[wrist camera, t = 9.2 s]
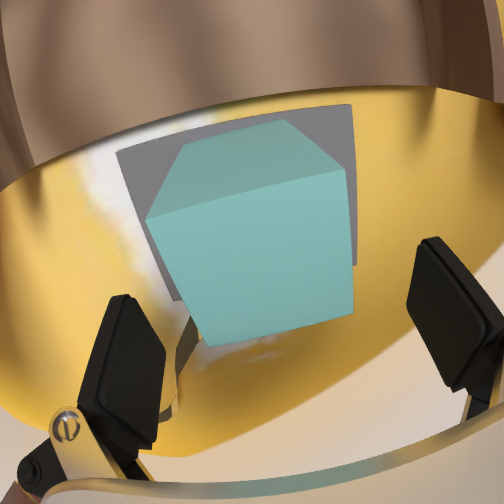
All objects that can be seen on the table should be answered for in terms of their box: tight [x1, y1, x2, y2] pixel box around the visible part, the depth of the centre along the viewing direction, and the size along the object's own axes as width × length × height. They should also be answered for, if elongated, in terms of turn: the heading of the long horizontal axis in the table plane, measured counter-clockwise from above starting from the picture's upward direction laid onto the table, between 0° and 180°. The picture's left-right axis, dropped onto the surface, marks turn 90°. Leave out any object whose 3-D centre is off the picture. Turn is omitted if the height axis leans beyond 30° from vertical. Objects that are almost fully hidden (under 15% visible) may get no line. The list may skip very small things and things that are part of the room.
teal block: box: [145, 119, 353, 348], centre depth 12 cm, size 5×5×8 cm
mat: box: [116, 104, 357, 301], centre depth 16 cm, size 12×10×1 cm
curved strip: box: [158, 316, 203, 423], centre depth 24 cm, size 6×39×4 cm, turn 141°
